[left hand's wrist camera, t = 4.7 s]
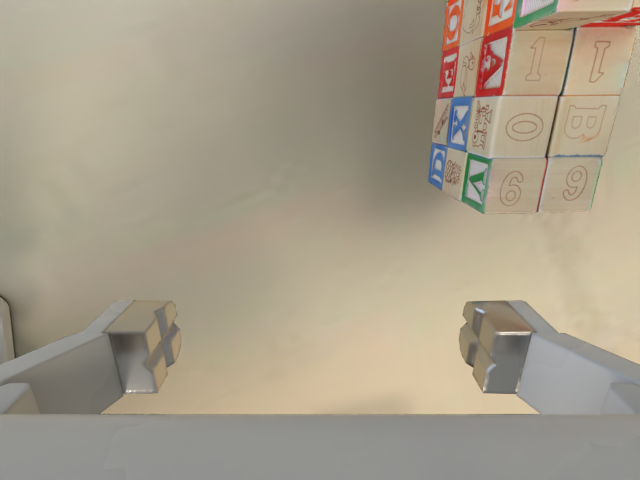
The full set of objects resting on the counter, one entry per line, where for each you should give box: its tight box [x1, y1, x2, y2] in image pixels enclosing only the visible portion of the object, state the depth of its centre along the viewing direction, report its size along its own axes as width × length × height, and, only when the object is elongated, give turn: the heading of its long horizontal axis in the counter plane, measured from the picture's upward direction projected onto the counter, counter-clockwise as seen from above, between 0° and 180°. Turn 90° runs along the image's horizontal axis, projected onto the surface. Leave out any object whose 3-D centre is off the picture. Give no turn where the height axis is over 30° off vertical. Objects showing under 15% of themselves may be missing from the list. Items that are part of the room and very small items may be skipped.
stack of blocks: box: [428, 0, 640, 214], centre depth 19 cm, size 21×6×12 cm, turn 0°
